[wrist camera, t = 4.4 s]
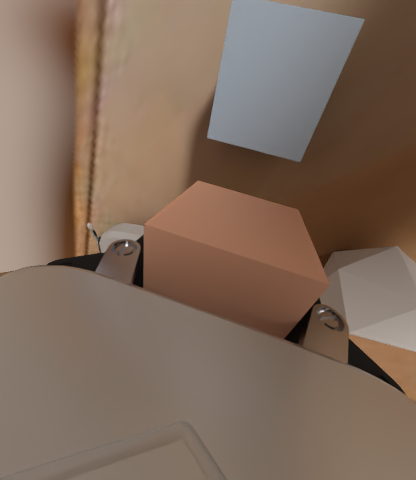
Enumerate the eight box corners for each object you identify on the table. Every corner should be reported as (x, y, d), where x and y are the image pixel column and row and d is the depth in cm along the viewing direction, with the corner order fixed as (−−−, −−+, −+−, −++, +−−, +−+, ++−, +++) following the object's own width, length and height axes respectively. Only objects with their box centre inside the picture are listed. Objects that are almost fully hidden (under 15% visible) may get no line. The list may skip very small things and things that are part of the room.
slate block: (242, 46, 14) (233, -6, 9) (323, 64, 13) (365, 18, 8) (222, 137, 17) (206, 137, 12) (286, 153, 16) (300, 162, 11)
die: (292, 280, 23) (347, 369, 18) (303, 246, 16) (401, 376, 11) (354, 255, 23) (431, 338, 17) (392, 210, 16) (543, 324, 10)
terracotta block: (198, 180, 11) (143, 224, 6) (298, 209, 10) (330, 284, 5) (185, 256, 14) (143, 324, 9) (260, 281, 14) (258, 369, 9)
